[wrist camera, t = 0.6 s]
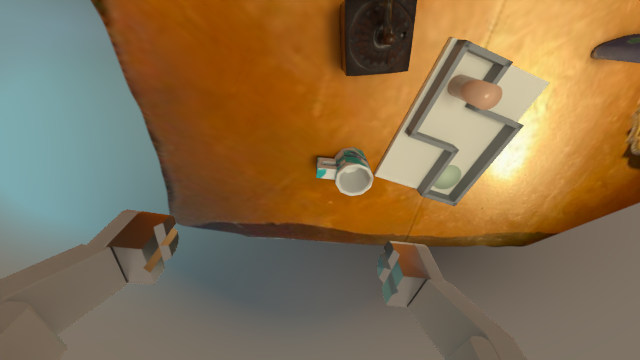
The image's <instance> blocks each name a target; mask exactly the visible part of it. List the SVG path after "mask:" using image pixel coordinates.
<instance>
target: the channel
mask: <svg viewBox="0 0 640 360" xmlns="http://www.w3.org/2000/svg"><path fill="white" fill-rule="evenodd" d="M512 63H513V62H512V61H510V60H508V59H506V58H503V57H501V56H499V55H497V54H495V53H493V52H491V51H489V50H487V49H484V48H482V47H480V46H478V45H476V44H474V43H472V42H470V41H468V40H458V39H456V38H453V37H450V38H449V40H448V42H447V43H446V45H445V47H444V49H443V50H442V52H441V54H440V56H439V58H438V59H437V61H436V63H435V65H434V67H433V68H432V70H431V72H430V74H429V76H428V77H427V79H426V81H425V83H424V84H423V86H422V88H421V90H420V92H419V93H418V95H417V97H416V99H415V101H414V102H413V104H412V106H411V108H410V110H409V111H408V113H407V115H406V117H405V118H404V120H403V122H402V124H401V126H400V127H399V129H398V131H397V133H396V135H395V136H394V138H393V140H392V142H391V144H390V145H389V147H388V149H387V151H386V153H385V154H384V156H383V158H382V160H381V161H380V163H379V165H378V167H377V169H376V170H375V172H374V175H375V176H376V177H380V178H383V179H386V180H389V181H393V182H396V183H399V184H402V185H406V186H409V187H412V188H415V189H417V190H418V192H419V193H420V195H421V196H423V197H426V198H430V199H433V200H436V201H439V202H443V203H446V204H449V205H453V206H455V205H456V204H457V203H458V202H459V201H460V200H461V198H462V197H463V196H464V195H465V194H466V193H467V191H468V190H469V189H470V188H471V187H472V186H473V184H474V183H475V182H476V181H477V180H478V178H479V177H480V176H481V175H482V174H483V173H484V171H485V170H486V169H487V168H488V167H489V166H490V164H491V163H492V162H493V161H494V160H495V159H496V157H497V156H498V155H499V154H500V153H501V152H502V150H503V149H504V148H505V147H506V146H507V144H508V143H509V142H510V141H511V140H512V139H513V137H514V136H515V135H516V134H517V133H518V132H519V130H520V129H521V128H522V127H523V126H524V125H522V124H520V123H517V121H518V120H519V119H520V118H521V117H522V115H523V114H524V113H525V112H526V111H527V109H528V108H529V107H530V106H531V105H532V103H533V102H534V101H535V100H536V99H537V97H538V96H539V95H540V94H541V93H542V91H543V90H544V89H545V88H546V87H547V85H548V84H549V82H547V81H545V80H543V79H541V78H539V77H536V76H534V75H532V74H530V73H528V72H526V71H524V70H522V69H519V68H517V67H515V66H513V65H511V64H512ZM460 74H462V75H466V76H469V77H473V78H476V79H479V80H482V81H485V82H489V83H492V84H495V85H498V86H500V87H501V89H502V92H503V93H502V98H501V100H500V101H499V103H498V104H497V105H496V106H494V107H493V108H491V109H488V110H481V109H479V108H477V107H475V106H473V105H471V104H469V103H467V102H465V101H462V100H460V99H458V98H456V97H454V96H452V95H450V94H449V93H448V89H447V87H448V84H449V82H450V80H451V79H452V78H453V77H455V76H456V75H460ZM448 165H455V166H457V167H458V168H459V169H460V170H461V178H460V180H459V181H458V183H457V184H455V185H454V186H453V187H451V188H448V189H438V188H436V187H434V184H435V182H436V181H437V180H438V178H439V177H440V176H441V174H442V173H443V172H444V170H445V169H446V167H447V166H448Z"/></svg>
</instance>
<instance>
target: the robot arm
mask: <svg viewBox="0 0 640 360" xmlns="http://www.w3.org/2000/svg"><path fill="white" fill-rule="evenodd" d="M175 224H176V222H175V218H174V216H171V215H164V214H157V213H150V212H143V211H134V210H125V211H122V212H121V213H120V214H119V215H118V216H117V217H116V218H115V219H114V220H112V221H111V223H109V224H108V225H107V226H106V227H105V228H104V229H103V230H102V231H101V232H100V233H99V234H97V236H95V237H94V238H93V239H92V240H91V241H90V242H89V243H88V244H87V245H83V244H81V245H79V246H76V247H74V248H72V249H69V250H67V251H65V252H62V253H60V254H58V255H56V256H53V257H51V258H49V259H46V260H44V261H42V262H40V263H37V264H35V265H32V266H30V267H28V268H26V269H23V270H21V271H19V272H16V273H14V274H12V275H9V276H7V277H5V278H2V279H0V360H60V359H61V357H62V356H63V355H64V353H65V352H66V351H67V345H66V344H65V343H64V341H63V340H62V339H61V338H60V337H59V336H58V334H59V333H60V332H62V331H63V330H65V329H66V328H67V327H69V326H70V325H71V324H73V323H74V322H76V321H77V320H78V319H80V318H81V317H83V316H84V315H85V314H87V313H88V312H90V311H91V310H92V309H94V308H95V307H97V306H98V305H99V304H100V303H102V302H104V301H105V300H106V299H108V298H109V297H110V296H112V295H113V294H115V293H116V292H118V291H119V290H120V289H122V288H123V287H124V286H126V285H127V283H134V284H150V285H154V284H155V283H156V281H157V280H158V278H159V276H160V275H161V273H162V272H163V270H164V269H165V266H164V262H165V261H166V260H168V259H170V258H171V257H172V256H173V254H174V253H175V251H176V248H177V245H178V240H179V236H178V232H177V231H176V230H175V229H174V228H173V227H174V225H175ZM384 249H385V252H384V253H382V254H380V257H379V259H378V265H377V269H378V276H379V278H380V279H381V281H382V282H383V283H384V285H383V287H382V292H383V296H384V299H385V303H386V305H389V306H398V307H407V310H408V311H409V312H410V314H411V315H412V316H413V317H414V319H415V320H416V321H417V323H418V324H419V325H420V327H421V328H422V329H423V331H424V332H425V333H426V334H427V336H428V337H429V338H430V340H431V341H432V342H433V344H434V345H435V346H436V348H437V349H438V350H439V352H440V353H441V354H442V356H443V357H444V358H445V360H527V359H526V357H525V356H524V354H523V352H522V351H521V349H520V348H519V346H518V345H517V343H516V341H515V340H514V338H513V337H511V336H510V335H509V334H508V333H507V332H506V331H505V330H503V329H502V328H501V327H500V326H499V325H497V323H495V322H494V321H493V320H492V319H491V318H490V317H489V316H487V315H486V314H485V313H484V312H483V311H482V310H480V309H479V308H478V307H477V306H476V305H475V304H473V303H472V302H471V301H470V300H469V299H468V298H467V297H465V296H464V295H463V294H462V293H461V292H460V291H459V290H458V289H456V288H455V287H454V286H453V285H452V284H451V283H450V282H447V281H445V280H444V279H443V276H442V275H441V273H440V271H439V269H438V267H437V265H436V263H435V261H434V259H433V257H432V255H431V253H430V251H429V249H428V247H427V246H426V245H422V244H411V243H404V242H394V241H388V242H387V243H386V244H385V246H384Z"/></svg>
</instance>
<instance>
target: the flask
mask: <svg viewBox="0 0 640 360" xmlns="http://www.w3.org/2000/svg"><path fill="white" fill-rule="evenodd" d="M594 51H595V52H594ZM591 57H593V58H594V59H606V60H617V61H626V62H635V63H640V34H633V35H627V36H623V37H621V38H617V39H614V40H611V41H607V42H605V43H602V44H601V45H599V46H597V47H596V48H594V50H593V51H592V55H591Z"/></svg>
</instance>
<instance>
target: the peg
mask: <svg viewBox="0 0 640 360" xmlns="http://www.w3.org/2000/svg"><path fill="white" fill-rule="evenodd" d="M447 89H448V93H449V94H450V95H452V96H454V97H456V98H458V99H460V100H462V101H465V102H467V103H469V104H471V105H473V106H475V107H477V108H479V109H481V110H488V109H491V108H493V107H494V106H496V105H497V104H498V103H499V101H500V100H501V98H502V93H503V92H502V89H501V87H500V86H498V85H495V84H492V83H489V82H485V81H482V80H479V79H476V78H473V77H469V76H466V75H462V74H460V75H456V76H455V77H453V78H452V79H451V80H450V82H449V84H448V87H447Z"/></svg>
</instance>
